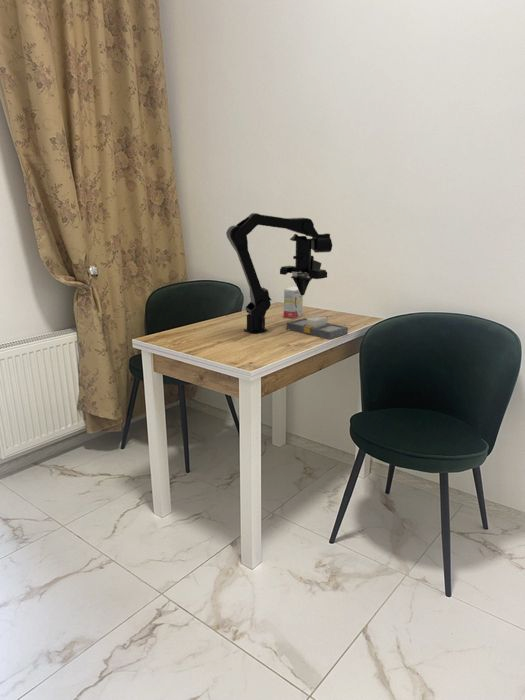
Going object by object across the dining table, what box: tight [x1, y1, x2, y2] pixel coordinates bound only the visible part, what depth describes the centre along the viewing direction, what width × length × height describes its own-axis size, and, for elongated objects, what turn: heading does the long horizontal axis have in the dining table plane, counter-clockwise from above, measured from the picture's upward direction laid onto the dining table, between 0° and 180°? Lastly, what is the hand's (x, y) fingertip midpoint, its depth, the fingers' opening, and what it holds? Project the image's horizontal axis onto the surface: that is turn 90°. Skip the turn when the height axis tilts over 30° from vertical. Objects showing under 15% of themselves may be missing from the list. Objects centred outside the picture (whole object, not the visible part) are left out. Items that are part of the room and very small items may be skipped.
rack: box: [286, 317, 349, 340], centre depth 183 cm, size 11×20×3 cm, turn 45°
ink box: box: [283, 286, 304, 319], centre depth 207 cm, size 9×5×12 cm, turn 149°
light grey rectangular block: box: [306, 315, 328, 328], centre depth 183 cm, size 7×4×4 cm, turn 135°
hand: (302, 295), depth 186 cm, fingers closed
